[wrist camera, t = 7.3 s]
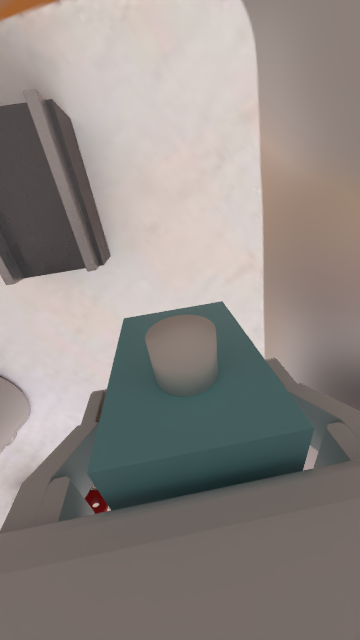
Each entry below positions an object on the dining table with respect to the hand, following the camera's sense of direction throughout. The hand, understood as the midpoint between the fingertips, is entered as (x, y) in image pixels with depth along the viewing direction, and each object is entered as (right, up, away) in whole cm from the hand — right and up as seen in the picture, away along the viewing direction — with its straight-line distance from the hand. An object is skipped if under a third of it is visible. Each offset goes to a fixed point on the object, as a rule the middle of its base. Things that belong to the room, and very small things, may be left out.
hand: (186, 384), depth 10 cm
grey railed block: (-15, +14, +12) cm, 24 cm away
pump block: (0, +1, +2) cm, 3 cm away
